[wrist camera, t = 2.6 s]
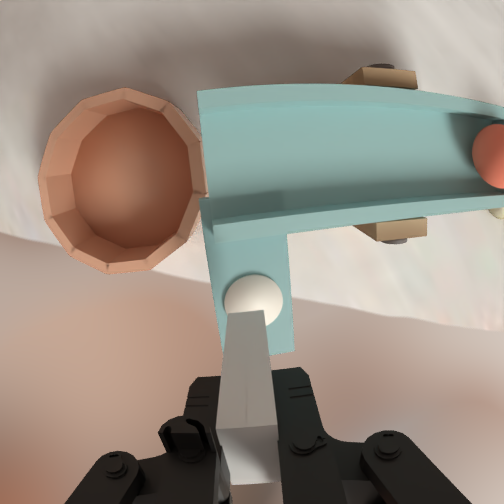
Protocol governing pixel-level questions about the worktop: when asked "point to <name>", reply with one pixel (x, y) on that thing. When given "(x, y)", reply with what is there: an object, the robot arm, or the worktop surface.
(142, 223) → the bowl
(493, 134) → the ball
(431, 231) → the worktop surface
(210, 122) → the lever
